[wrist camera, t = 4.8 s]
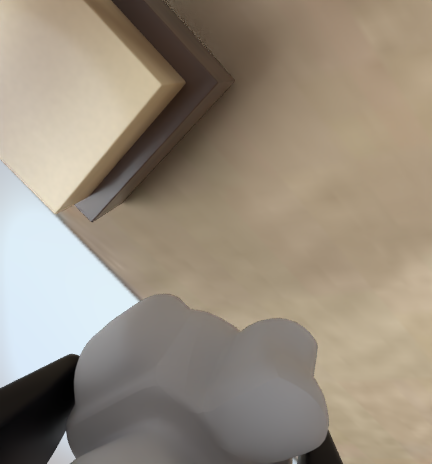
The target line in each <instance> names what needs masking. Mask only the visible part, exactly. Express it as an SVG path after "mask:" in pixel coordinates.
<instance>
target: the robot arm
mask: <svg viewBox="0 0 432 464" xmlns="http://www.w3.org/2000/svg"><path fill="white" fill-rule="evenodd" d="M79 357H80V356H78V355H75V354H69V355H67V356H65V357H63V358H60V359H58V360H57V361H54V362H53V363H50V364H48V365H46V366H45V367H42V368H40V369H38V370H36V371H34V372H32V373H30V374H28V375H26V376H24V377H22V378H20V379H18V380H16V381H14V382H12V383H10V384H8V385H6V386H4V387H2V388H0V464H47V462H48V461H49V459H50V458H51V456H52V455H53V453H54V451H55V450H56V448H57V446H58V444H59V442H60V440H61V439H62V437H63V435H64V433H65V431H66V424H67V420H68V417H69V415H70V413H71V411H72V409H73V407H74V405H75V394H74V377H75V370H76V366H77V362H78V360H79ZM297 464H343V463H342V460H341V458H340V456H339V453H338V451H337V449H336V446H335V444H334V442H333V440H332V437H331V435H330V433H329V430H328V432H327V435H326V438H325V440H324V442H323V443H322V444H321V445H320V446H319V447H317V448H316V449H314V450H312V451H310V452H308V453H305V454H302V455H299V456H298V462H297Z"/></svg>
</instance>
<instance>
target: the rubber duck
mask: <svg viewBox="0 0 432 464" xmlns="http://www.w3.org/2000/svg"><path fill="white" fill-rule="evenodd" d="M317 349H318V346H317V342H316V340H315V339H314V337H313V336H312V335H311V334H310V332H309V331H307V330H306V329H305V328H304V327H303V326H301V325H300V324H298V323H297V322H294V321H291V320H288V319H282V318H272V319H267V320H262V321H259V322H256V323H253V324H251V325H249V326H248V327H246V328H245V329H243V330H242V331H240V330H238V329H237V328H236V327H235V326H233V325H232V324H230V323H228V322H227V321H225V320H223V319H222V318H220V317H218V316H216V315H213V314H211V313H208V312H205V311H200V310H193V309H190V308H189V307H188V306H187V305H186V304H185V303H184V302H183V301H182V300H181V299H179V298H178V297H176V296H174V295H170V294H158V295H153V296H150V297H148V298H145V299H144V300H142V301H140V302H138V303H137V304H135V305H134V306H132V307H131V308H129V309H128V310H127V311H125V312H123V313H122V314H121V315H119V316H118V317H116V318H115V319H114V320H112V321H111V322H109V323H108V324H107V325H106V326H105V327H104V328H103V329H102V330H101V331H99V332H98V333H97V334H96V335H95V336H93V338H92V339H91V340H90V341H89V342H88V343H87V344H86V346H85V347H84V349H83V351H82V353H81V355H80V357H79V360H78V362H77V366H76V370H75V377H74V394H75V405H74V407H73V409H72V411H71V413H70V415H69V417H68V420H67V424H66V433H67V439H68V443H69V445H70V448H71V450H72V452H73V454H74V456H75V458H76V459H75V460H74V461H73V462H72V463H71V464H292V458H293V457H296V456H299V455H302V454H305V453H308V452H310V451H312V450H314V449H316V448H317V447H319V446H320V445H321V444H322V443H323V442H324V440H325V438H326V435H327V432H328V427H329V416H328V410H327V405H326V402H325V398H324V395H323V393H322V391H321V389H320V387H319V385H318V383H317V381H316V380H315V378H314V370H315V364H316V358H317Z"/></svg>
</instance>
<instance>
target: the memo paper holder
mask: <svg viewBox="0 0 432 464" xmlns="http://www.w3.org/2000/svg"><path fill="white" fill-rule="evenodd" d="M234 81H235V80H234V79H233V78H232V77H231V76H230V74H229V73H228V72H227V71H226V70H225V69H224V68H223V67H222V66H221V64H220V63H219V62H218V61H217V60H216V59H215V58H214V57H213V56H212V54H211V53H210V52H209V51H208V50H207V49H206V48H205V47H204V46H203V44H202V43H201V42H200V41H199V40H198V39H197V38H196V37H195V36H194V34H193V33H192V32H191V31H190V30H189V29H188V28H187V27H186V26H185V24H184V23H183V22H182V21H181V20H180V19H179V18H178V17H177V16H176V14H175V13H174V12H173V11H172V10H171V9H170V8H169V7H168V6H167V4H166V3H165V2H164V1H163V0H0V160H1V161H2V162H3V163H4V164H5V165H6V166H7V167H8V168H9V169H10V170H11V171H12V172H13V173H14V174H15V175H16V176H17V177H18V178H19V179H20V180H21V181H22V182H23V183H24V184H25V185H26V186H27V187H28V188H29V189H30V190H31V191H32V192H33V193H34V194H35V195H36V196H37V197H38V198H39V199H40V200H41V201H42V202H43V203H44V204H45V205H46V206H47V207H48V208H49V209H50V210H51V211H52V212H53V213H54V214H57V213H59V212H61V211H63V210H65V209H67V208H69V207H71V206H73V205H75V206H76V207H77V208H78V209H79V210H80V211H81V212H82V213H83V214H84V215H85V216H86V217H87V218H88V219H89V220H90V221H91V222H93V221H95V220H97V219H98V218H100V217H101V216H103V215H104V214H106V213H107V212H109V211H111V210H112V209H114V208H115V207H117V206H118V205H120V204H121V203H122V202H123V201H124V200H125V199H126V198H127V197H128V196H129V195H130V194H131V193H132V191H133V190H134V189H135V188H136V187H137V186H138V185H139V184H140V183H141V182H142V181H143V180H144V179H145V177H146V176H147V175H148V174H149V173H150V172H151V171H152V170H153V169H154V168H155V167H156V166H157V164H158V163H159V162H160V161H161V160H162V159H163V158H164V157H165V156H166V155H167V154H168V153H169V152H170V150H171V149H172V148H173V147H174V146H175V145H176V144H177V143H178V142H179V141H180V140H181V139H182V138H183V136H184V135H185V134H186V133H187V132H188V131H189V130H190V129H191V128H192V127H193V126H194V125H195V124H196V122H197V121H198V120H199V119H200V118H201V117H202V116H203V115H204V114H205V113H206V112H207V111H208V110H209V108H210V107H211V106H212V105H213V104H214V103H215V102H216V101H217V100H218V99H219V98H220V97H221V95H222V94H223V93H224V92H225V91H226V90H227V89H228V88H229V87H230V86H231V85H232V84H233V83H234Z"/></svg>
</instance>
